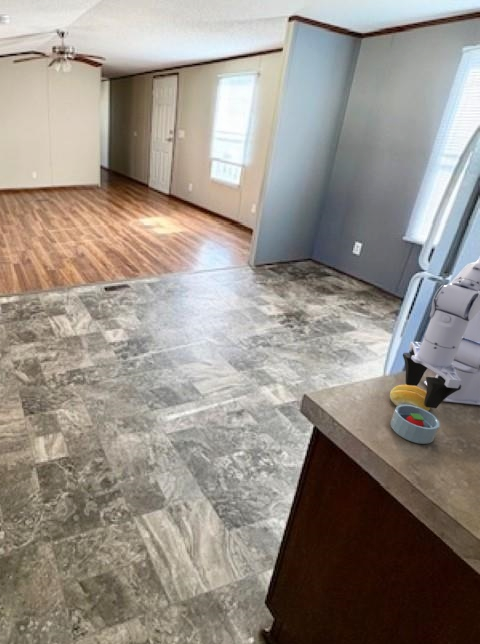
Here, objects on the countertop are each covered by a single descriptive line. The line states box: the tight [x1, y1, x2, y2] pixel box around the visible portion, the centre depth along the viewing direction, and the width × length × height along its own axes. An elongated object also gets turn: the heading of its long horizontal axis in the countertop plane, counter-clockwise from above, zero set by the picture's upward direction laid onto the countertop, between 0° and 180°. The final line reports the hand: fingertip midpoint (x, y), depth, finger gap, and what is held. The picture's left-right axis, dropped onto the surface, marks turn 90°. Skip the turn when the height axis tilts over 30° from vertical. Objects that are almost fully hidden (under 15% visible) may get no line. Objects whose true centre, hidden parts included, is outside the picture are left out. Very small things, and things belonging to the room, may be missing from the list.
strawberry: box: [405, 413, 424, 427], centre depth 93 cm, size 3×3×4 cm
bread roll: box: [389, 383, 431, 412], centre depth 103 cm, size 8×9×4 cm
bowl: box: [389, 404, 441, 445], centre depth 93 cm, size 8×8×4 cm
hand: (420, 395), depth 92 cm, fingers open, 7 cm apart
